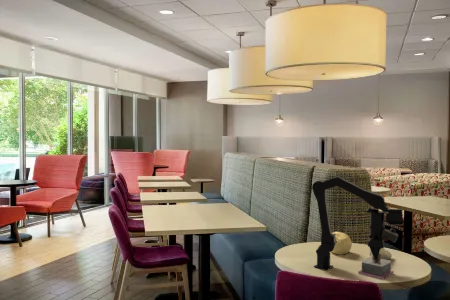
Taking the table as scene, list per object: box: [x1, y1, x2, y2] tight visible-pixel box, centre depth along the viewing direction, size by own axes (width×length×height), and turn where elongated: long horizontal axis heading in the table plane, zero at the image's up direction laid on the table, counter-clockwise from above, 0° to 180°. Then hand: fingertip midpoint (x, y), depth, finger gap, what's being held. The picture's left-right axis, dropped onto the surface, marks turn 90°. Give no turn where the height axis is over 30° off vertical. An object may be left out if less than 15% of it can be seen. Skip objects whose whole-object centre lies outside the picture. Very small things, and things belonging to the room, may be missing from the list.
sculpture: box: [331, 231, 352, 255], centre depth 215 cm, size 12×12×11 cm
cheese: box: [368, 248, 393, 260], centre depth 203 cm, size 15×7×15 cm
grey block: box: [358, 256, 395, 280], centre depth 183 cm, size 11×11×6 cm
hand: (376, 258), depth 183 cm, fingers closed on plunger, 4 cm apart
